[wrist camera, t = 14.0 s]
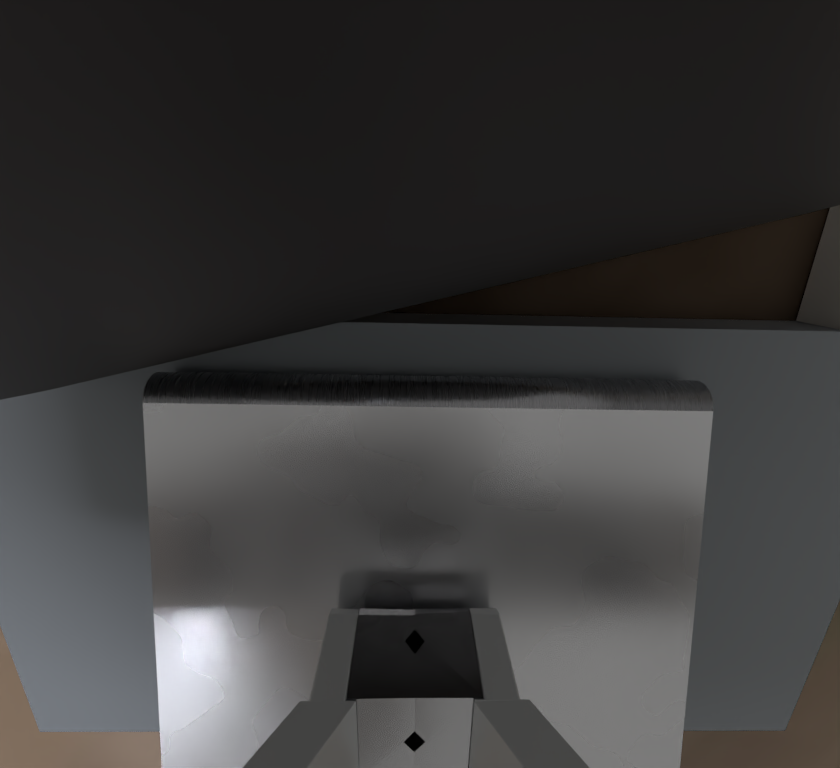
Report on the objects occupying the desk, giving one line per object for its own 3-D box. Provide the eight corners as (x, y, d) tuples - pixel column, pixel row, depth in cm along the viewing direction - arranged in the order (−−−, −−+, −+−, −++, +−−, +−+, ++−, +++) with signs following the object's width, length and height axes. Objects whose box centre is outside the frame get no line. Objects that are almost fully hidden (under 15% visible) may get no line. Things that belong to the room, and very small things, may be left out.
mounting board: (752, 687, 13) (784, 730, 12) (74, 686, 12) (39, 731, 11) (1196, -528, 6) (1391, -720, 5) (-347, -628, 5) (-555, -866, 4)
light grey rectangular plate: (647, 760, 9) (676, 810, 8) (190, 761, 9) (164, 813, 8) (680, 377, 8) (716, 383, 8) (173, 369, 8) (141, 374, 7)
